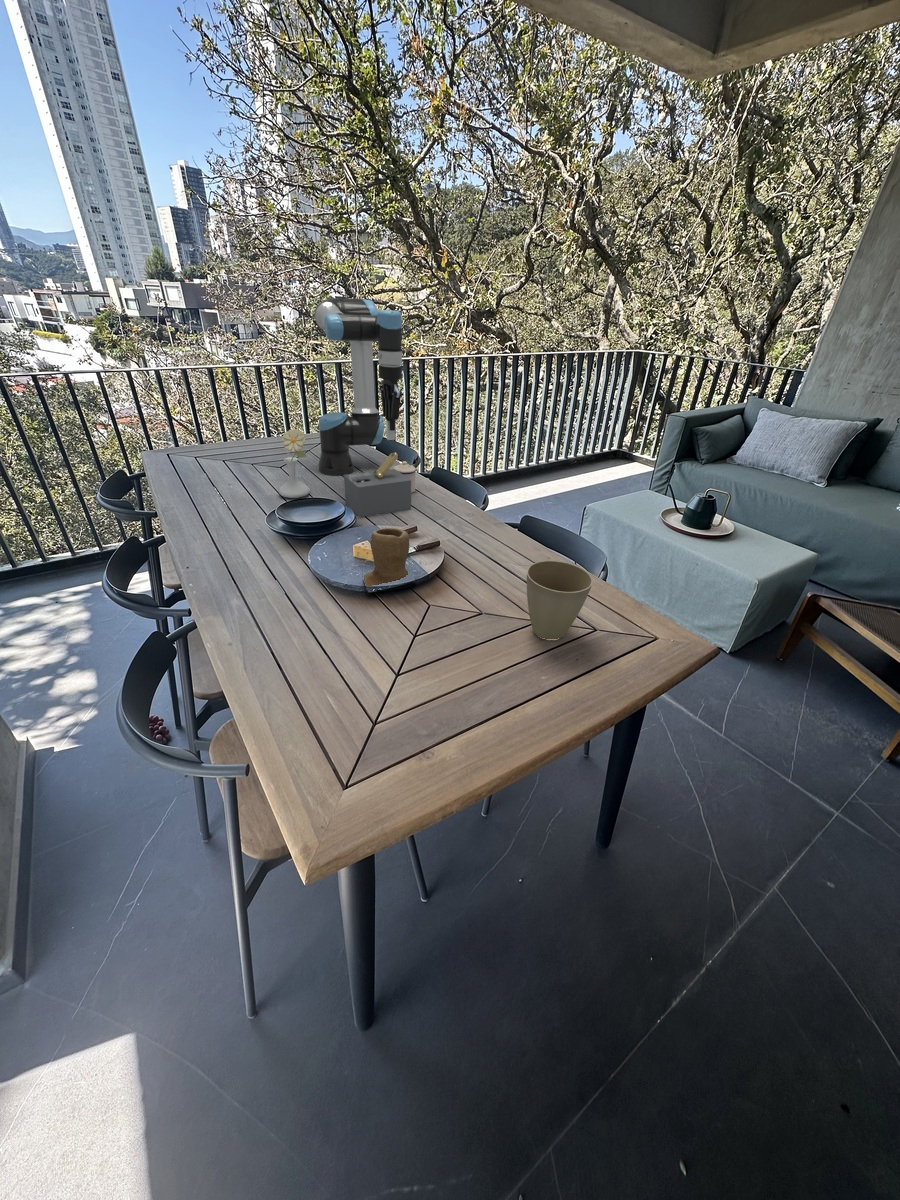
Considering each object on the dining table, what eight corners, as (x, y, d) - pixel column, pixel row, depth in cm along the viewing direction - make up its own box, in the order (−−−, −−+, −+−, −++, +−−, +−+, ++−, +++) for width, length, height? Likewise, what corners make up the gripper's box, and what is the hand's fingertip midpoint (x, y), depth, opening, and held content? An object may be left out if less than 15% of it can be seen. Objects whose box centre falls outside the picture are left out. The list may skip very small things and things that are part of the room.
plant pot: (566, 659, 113) (580, 599, 104) (507, 636, 119) (515, 578, 111) (588, 628, 124) (601, 572, 115) (533, 608, 130) (542, 554, 121)
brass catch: (376, 476, 180) (373, 473, 179) (395, 453, 180) (392, 450, 178) (381, 479, 177) (378, 477, 176) (400, 456, 176) (397, 453, 175)
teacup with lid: (410, 485, 205) (411, 457, 199) (419, 493, 198) (419, 464, 192) (383, 488, 201) (382, 460, 194) (390, 496, 194) (390, 466, 187)
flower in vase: (272, 497, 187) (262, 428, 173) (291, 488, 196) (283, 422, 182) (301, 503, 183) (294, 434, 169) (319, 494, 192) (313, 427, 179)
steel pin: (350, 506, 180) (348, 474, 174) (370, 503, 184) (369, 472, 178) (353, 509, 178) (351, 477, 172) (374, 505, 182) (373, 474, 176)
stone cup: (402, 567, 145) (402, 519, 137) (420, 586, 137) (422, 536, 129) (353, 578, 139) (350, 528, 131) (368, 598, 130) (366, 546, 122)
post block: (345, 503, 185) (343, 474, 179) (394, 496, 194) (394, 468, 188) (359, 517, 175) (358, 487, 169) (410, 509, 183) (411, 480, 178)
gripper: (371, 362, 164) (373, 435, 177) (387, 368, 155) (388, 445, 167) (392, 362, 168) (393, 434, 180) (409, 367, 158) (408, 443, 171)
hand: (391, 439), depth 174 cm, fingers closed
